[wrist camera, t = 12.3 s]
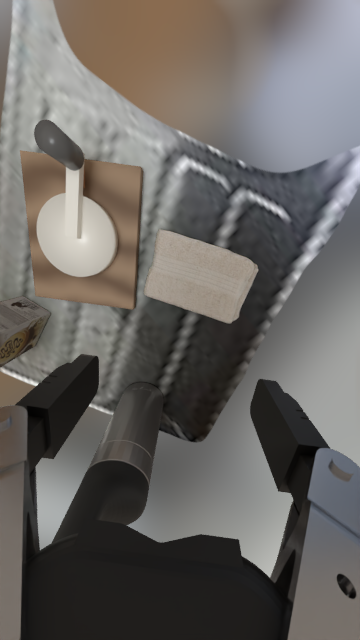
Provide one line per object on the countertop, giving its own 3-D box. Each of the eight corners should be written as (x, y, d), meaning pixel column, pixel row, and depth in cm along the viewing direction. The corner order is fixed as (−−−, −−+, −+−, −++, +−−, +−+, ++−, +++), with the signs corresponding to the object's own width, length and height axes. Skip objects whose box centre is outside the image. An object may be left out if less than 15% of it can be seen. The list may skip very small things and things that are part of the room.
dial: (114, 282, 35) (92, 290, 27) (45, 267, 35) (4, 272, 27) (126, 164, 30) (103, 132, 22) (44, 145, 29) (-9, 107, 21)
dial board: (135, 307, 38) (132, 309, 37) (41, 294, 38) (34, 296, 37) (143, 170, 31) (140, 166, 30) (27, 155, 31) (19, 149, 30)
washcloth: (233, 322, 39) (236, 327, 36) (143, 294, 38) (139, 298, 35) (258, 260, 35) (265, 261, 32) (159, 228, 34) (156, 226, 31)
